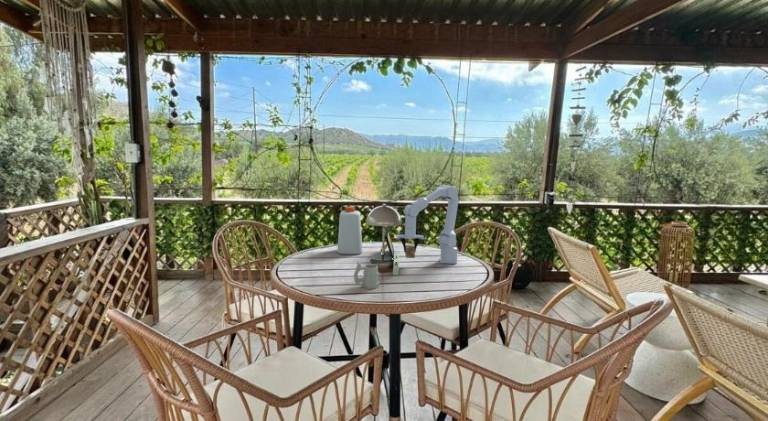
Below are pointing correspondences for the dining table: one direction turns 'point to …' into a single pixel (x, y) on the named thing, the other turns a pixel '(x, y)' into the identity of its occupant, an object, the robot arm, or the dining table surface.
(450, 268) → the dining table surface
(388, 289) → the dining table surface
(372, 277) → the mug
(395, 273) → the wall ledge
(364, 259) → the dining table surface
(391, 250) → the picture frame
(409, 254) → the frame block
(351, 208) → the plastic bottle
